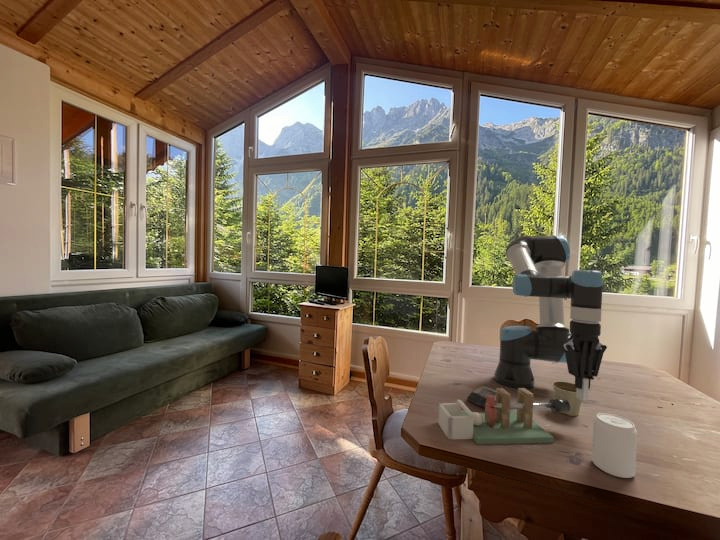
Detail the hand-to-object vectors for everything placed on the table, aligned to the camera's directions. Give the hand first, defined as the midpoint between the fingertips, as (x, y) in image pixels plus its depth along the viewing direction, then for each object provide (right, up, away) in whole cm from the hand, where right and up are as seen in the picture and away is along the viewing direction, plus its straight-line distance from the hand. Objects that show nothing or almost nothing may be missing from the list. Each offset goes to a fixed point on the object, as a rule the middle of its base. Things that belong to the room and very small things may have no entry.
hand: (581, 398), depth 92 cm
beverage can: (-6, -10, -18) cm, 21 cm away
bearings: (-22, -7, -1) cm, 23 cm away
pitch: (-25, -8, -2) cm, 26 cm away
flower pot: (+3, -9, +11) cm, 15 cm away
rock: (-22, -9, +15) cm, 28 cm away
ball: (-33, -5, -2) cm, 33 cm away
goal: (-40, -8, -3) cm, 40 cm away
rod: (-17, -7, -1) cm, 19 cm away
